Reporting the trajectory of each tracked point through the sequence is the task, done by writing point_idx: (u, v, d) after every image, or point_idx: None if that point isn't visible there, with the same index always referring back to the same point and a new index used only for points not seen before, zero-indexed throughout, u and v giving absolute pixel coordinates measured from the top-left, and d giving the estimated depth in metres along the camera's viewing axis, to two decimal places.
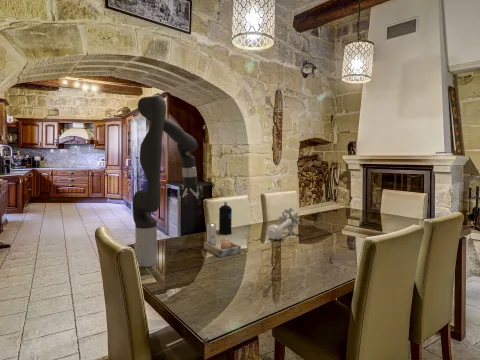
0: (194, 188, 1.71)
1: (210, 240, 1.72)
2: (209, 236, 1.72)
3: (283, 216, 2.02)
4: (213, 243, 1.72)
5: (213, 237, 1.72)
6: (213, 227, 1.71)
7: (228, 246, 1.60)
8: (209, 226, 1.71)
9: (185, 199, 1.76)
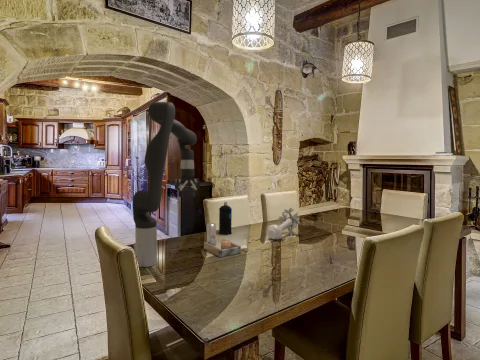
0: (193, 180, 1.80)
1: (210, 240, 1.72)
2: (209, 236, 1.72)
3: (283, 216, 2.02)
4: (213, 243, 1.72)
5: (213, 237, 1.72)
6: (213, 227, 1.71)
7: (228, 246, 1.60)
8: (209, 226, 1.71)
9: None
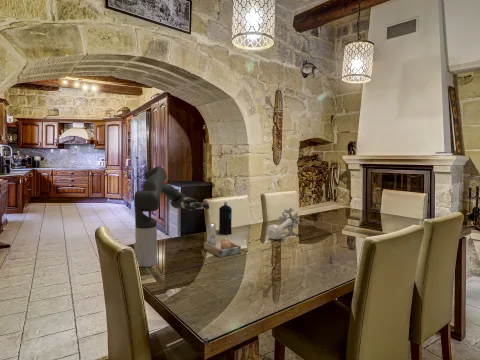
0: (199, 203, 1.91)
1: (210, 240, 1.72)
2: (209, 236, 1.72)
3: (283, 216, 2.02)
4: (213, 243, 1.72)
5: (213, 237, 1.72)
6: (213, 227, 1.71)
7: (228, 246, 1.60)
8: (209, 226, 1.71)
9: None
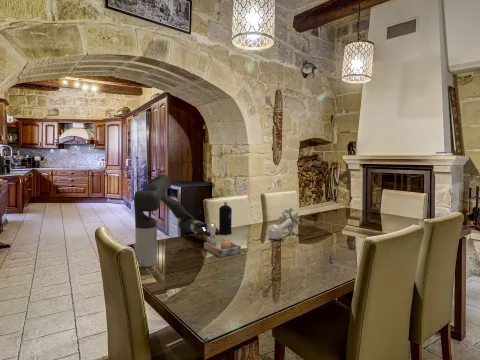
0: None
1: (210, 240, 1.72)
2: None
3: (283, 216, 2.02)
4: (213, 243, 1.72)
5: (213, 237, 1.72)
6: (213, 227, 1.71)
7: (228, 246, 1.60)
8: (209, 226, 1.71)
9: None
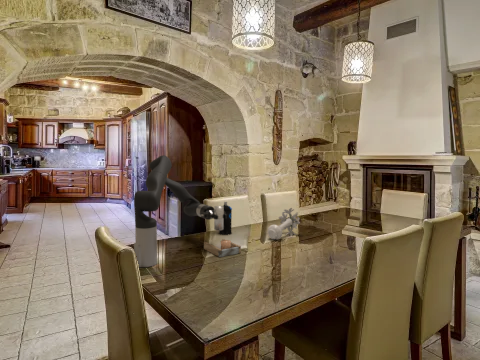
0: None
1: (217, 223, 1.64)
2: (216, 219, 1.64)
3: (283, 216, 2.02)
4: (221, 226, 1.65)
5: (221, 220, 1.65)
6: (221, 209, 1.64)
7: (228, 246, 1.60)
8: (216, 208, 1.64)
9: None
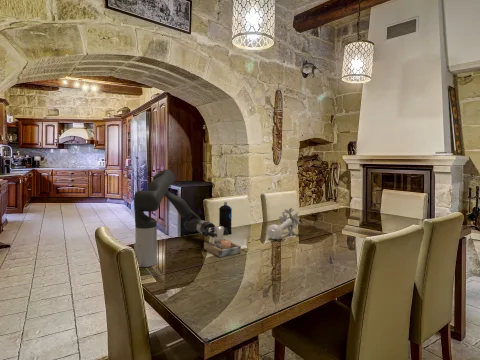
0: None
1: (218, 244, 1.65)
2: (217, 239, 1.65)
3: (283, 216, 2.02)
4: None
5: (221, 240, 1.65)
6: (221, 230, 1.65)
7: (228, 246, 1.60)
8: (217, 229, 1.65)
9: None
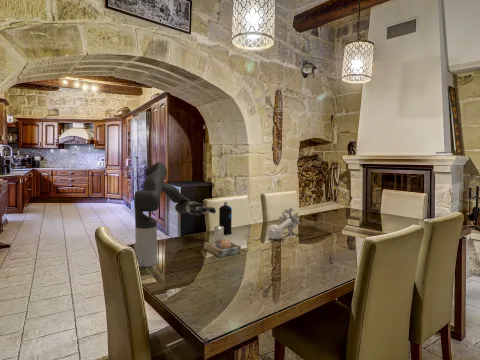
0: None
1: (218, 244, 1.65)
2: (217, 239, 1.65)
3: (283, 216, 2.02)
4: None
5: (221, 240, 1.65)
6: (221, 230, 1.65)
7: (228, 246, 1.60)
8: (217, 229, 1.65)
9: None
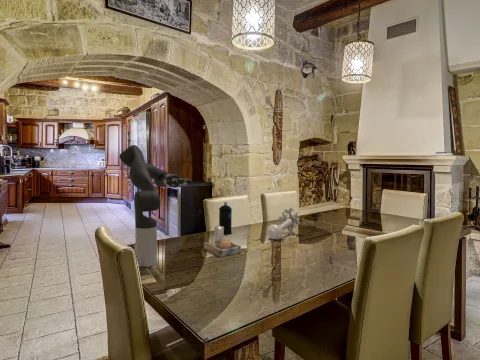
0: None
1: (218, 244, 1.65)
2: (217, 239, 1.65)
3: (283, 216, 2.02)
4: None
5: (221, 240, 1.65)
6: (221, 230, 1.65)
7: (228, 246, 1.60)
8: (217, 229, 1.65)
9: None
